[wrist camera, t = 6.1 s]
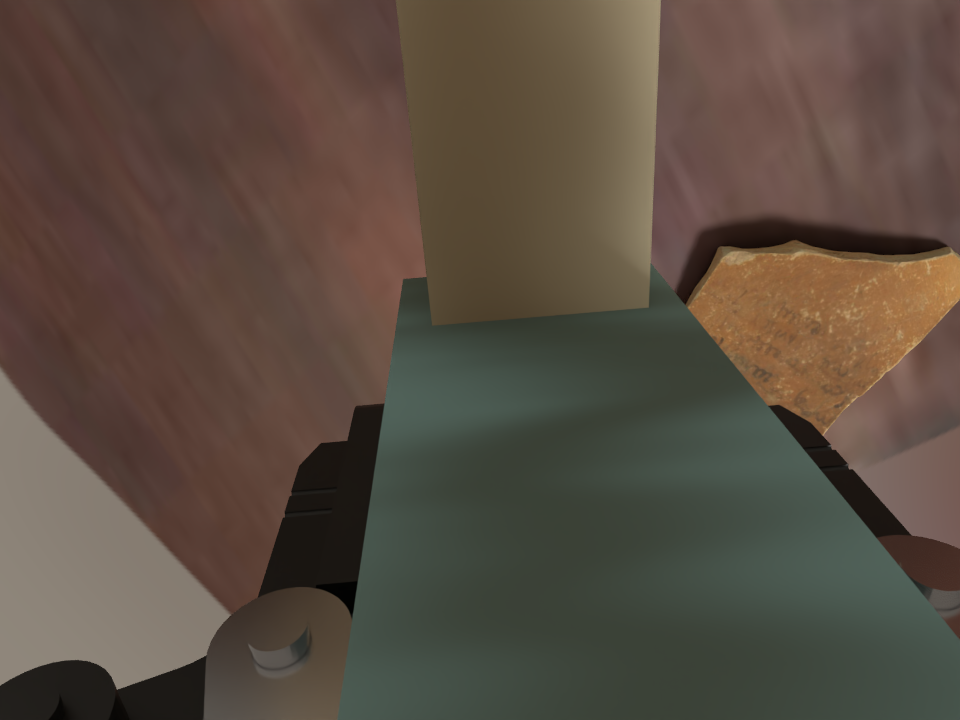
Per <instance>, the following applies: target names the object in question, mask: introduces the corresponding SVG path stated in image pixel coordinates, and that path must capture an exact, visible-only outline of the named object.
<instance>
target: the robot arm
mask: <svg viewBox="0 0 960 720" xmlns="http://www.w3.org/2000/svg"><path fill="white" fill-rule="evenodd" d="M384 405H385V404H374V405H362V406H356V407H355V410H354V414H353V418H352V423H351V427H350V432H349V436H348V441H341V442H330V443H321V444H320V445H319V446H318V447H317V448H316V449H315V450H314V451H313V452H312V453H311V454H310V455H309V456H308V457H307V458H306V459H305V460H304V462H303V463H302V464H301V465H300V466H299V469H298V472H297V475H296V478H295V481H294V484H293V488H292V491H291V492H292V496H290V497H289V500H288V503H287V507H286V510H285V518H283V519H282V522H281V526H280V529H279V532H278V535H277V538H276V541H275V545H274V548H273V551H272V554H271V557H270V560H269V564H268V567H267V570H266V573H265V576H264V579H263V583H262V586H261V589H260V592H259V595H258V598H256V599H254V600H252V601H251V602H249V603H247V604H245V605H244V606H242V607H241V608H240V609H238V610H237V611H236V612H234V613H233V614H232V615H231V616H230V617H229V618H228V619H227V620H226V621H225V622H224V623H223V624H222V626H221V627H220V628H219V629H218V631H217V632H216V634H215V635H214V637H213V639H212V641H211V643H210V646H209V649H208V652H207V655H206V656H205V657H203V658H201V659H199V660H197V661H195V662H193V663H191V664H188V665H186V666H183V667H181V668H178V669H175V670H173V671H170V672H167V673H164V674H161V675H158V676H156V677H153V678H150V679H147V680H144V681H141V682H138V683H135V684H133V685H130V686H127V687H125V688H121V689H118V690H117V689H116V687H115V684H114V682H113V680H112V677H111V676H110V675H109V673H108V672H107V671H106V670H105V669H104V668H102V667H101V666H99V665H97V664H94V663H91V662H88V661H79V660H70V661H60V662H55V663H50V664H47V665H43V666H40V667H37V668H34V669H32V670H30V671H27V672H24V673H22V674H20V675H19V676H16V677H15V678H12V679H10V680H9V681H7V682H6V683H4V684H2V685H1V686H0V720H337V718H338V711H339V704H340V698H341V691H342V684H343V678H344V671H345V664H346V658H347V651H348V644H349V638H350V631H351V624H352V618H353V611H354V604H355V598H356V591H357V584H358V578H359V571H360V564H361V558H362V551H363V544H364V538H365V531H366V524H367V518H368V511H369V505H370V498H371V491H372V485H373V478H374V471H375V465H376V458H377V451H378V445H379V438H380V431H381V425H382V418H383V411H384ZM768 407H769V408H770V409H771V410H772V411H773V413H774V414H775V415H776V416H777V418H778V419H779V420H780V421H781V422H782V424H783V425H784V426H785V427H786V428H787V430H788V431H789V432H790V433H791V435H792V436H793V437H794V438H795V439H796V441H797V442H798V443H799V444H800V446H801V447H802V448H803V449H804V450H805V452H806V453H807V454H808V455H809V457H810V458H811V459H812V460H813V461H814V463H815V464H816V465H817V466H818V467H819V469H820V470H821V471H822V472H823V474H824V475H825V476H826V477H827V478H828V480H829V481H830V482H831V483H832V485H833V486H834V487H835V488H836V489H837V491H838V492H839V493H840V494H841V495H842V497H843V498H844V499H845V500H846V502H847V503H848V504H849V505H850V506H851V508H852V509H853V510H854V511H855V513H856V514H857V515H858V516H859V517H860V519H861V520H862V521H863V522H864V524H865V525H866V526H867V527H868V528H869V530H870V531H871V532H872V533H873V534H874V536H875V537H876V538H877V539H878V541H879V542H880V543H881V544H882V545H883V547H884V548H885V549H886V550H887V552H888V553H889V554H890V555H891V556H892V558H893V559H894V560H895V561H896V562H897V564H898V565H899V566H900V567H901V569H902V570H903V571H904V572H905V573H906V575H907V576H908V577H909V578H910V580H911V581H912V582H913V583H914V584H915V586H916V587H917V588H918V589H919V591H920V592H921V593H922V594H923V595H924V597H925V598H926V599H927V600H928V601H929V603H930V604H931V605H932V606H933V608H934V609H935V610H936V611H937V612H938V614H939V615H940V616H941V617H942V619H943V620H944V621H945V622H946V623H947V625H948V626H949V627H950V628H951V629H952V631H953V632H954V633H955V634H956V636H957V637H958V638H959V639H960V549H958V548H956V547H954V546H951V545H949V544H946V543H943V542H940V541H937V540H933V539H928V538H924V537H918V536H912V535H911V534H910V533H909V532H908V531H907V530H906V529H905V528H904V526H903V525H902V524H901V523H900V522H899V521H898V520H897V519H896V518H895V516H894V515H893V514H892V513H891V512H890V511H889V510H888V508H886V506H885V505H884V504H883V503H882V502H881V501H880V500H879V498H878V497H877V496H876V495H875V494H874V493H873V492H872V490H871V489H870V488H869V487H868V486H867V485H866V484H865V483H864V482H863V480H862V479H861V478H860V477H859V476H858V475H857V474H856V473H855V471H854V470H853V469H850V470H849V468H848V464H847V462H846V461H845V460H844V459H843V458H842V457H841V456H840V455H839V453H838V452H837V451H836V450H832V449H831V444H830V443H829V442H828V441H827V440H826V439H825V438H824V437H823V435H822V434H821V433H820V432H819V431H818V430H817V429H816V428H815V427H814V425H813V424H812V423H811V422H809V421H807V420H805V419H804V418H802V417H800V416H798V415H797V414H795V413H793V412H791V411H790V410H788V409H786V408H784V407H783V406H781V405H770V406H768Z"/></svg>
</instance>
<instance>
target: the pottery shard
mask: <svg viewBox="0 0 960 720" xmlns="http://www.w3.org/2000/svg"><path fill="white" fill-rule="evenodd" d="M959 299H960V256H959V255H958V254H957V253H956V252H954V251H953V250H952V249H951V248H950V247H944V248H941V249H936V250H932V251H928V252H923V253H918V254H912V255H877V254H871V253H862V252H843V251H832V250H827V249H822V248H818V247H812V246H809V245H807V244H804V243H801V242H799V241H797V240H792V241H790V242H787V243H785V244H782V245H777V246H773V247H765V248H754V249H741V248H736V247H731V246H726V247H724V246H720V247H719V248H718V249H717V252H716V254H715V257H714V259H713V261H712V263H711V265H710V267H709V268H708V270H707V273H706V274H705V275H704V276H703V278H702V279H701V280H700V282H699V283H698V284H697V286H696V287H695V288H694V290H693V293H692V294H691V296H690V297H689V299H688V301H687V303H686V307H687V308H688V309H689V310H690V312H691V313H692V314H693V315H694V316H695V318H696V319H697V320H698V321H699V322H700V324H701V325H702V326H703V327H704V329H705V330H706V331H707V332H708V333H709V335H710V336H711V337H712V338H713V340H714V341H715V342H716V343H717V344H718V346H719V347H720V348H721V349H722V351H723V352H724V353H725V354H726V355H727V357H728V358H729V359H730V360H731V361H732V363H733V364H734V365H735V366H736V368H737V369H738V370H739V371H740V372H741V374H742V375H743V376H744V377H745V379H746V380H747V381H748V382H749V383H750V385H751V386H752V387H753V388H754V389H755V391H756V392H757V393H758V394H759V396H760V397H761V398H762V399H763V400H764V402H765V403H766V404H767V405H768V406H770V405H781V406H783V407H784V408H786V409H788V410H790V411H791V412H793V413H795V414H797V415H798V416H800V417H802V418H804V419H805V420H807V421H809V422H811V423H812V424H813V425H814V427H815V428H816V429H817V430H818V431H819V432H820V433H821V434H822V435H824V433H825V432H826V431H827V430H828V428H829V427H830V426H831V424H832V423H833V422H834V421H835V420H836V419H837V417H838V416H839V415H840V414H841V413H842V411H843V410H844V409H845V408H847V407H848V406H849V405H850V404H851V403H852V402H853V401H854V400H855V399H856V398H857V397H860V396H862V395H863V394H864V393H865V392H866V391H867V390H869V389H870V388H871V386H873V385H874V384H875V383H876V381H878V380H879V379H881V378H882V376H883V375H884V374H885V372H887V371H889V370H890V369H892V368H893V367H894V366H895V365H896V364H898V362H899V361H900V360H901V359H902V358H903V357H904V356H905V355H906V354H907V353H908V352H909V351H910V350H912V349H913V348H914V347H915V346H916V345H917V344H919V343H920V342H921V341H922V339H923V338H924V337H925V336H926V335H927V334H928V333H929V332H930V331H931V330H932V328H933V327H934V326H935V325H936V324H937V323H938V322H939V321H940V320H941V319H942V318H943V317H944V316H945V315H946V314H947V313H948V311H949V310H950V309H951V308H952V307H953V306H954V305H955V304H956V303H957V302H958V301H959Z"/></svg>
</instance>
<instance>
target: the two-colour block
mask: <svg viewBox="0 0 960 720" xmlns="http://www.w3.org/2000/svg"><path fill="white" fill-rule="evenodd" d="M396 4H397V13H398V22H399V31H400V40H401V49H402V58H403V67H404V76H405V85H406V94H407V103H408V112H409V122H410V131H411V140H412V149H413V158H414V167H415V176H416V185H417V194H418V203H419V212H420V221H421V230H422V239H423V248H424V257H425V266H426V275H427V277H423V278H411V279H403V285H402V291H401V298H400V305H399V311H398V318H397V325H396V331H395V338H394V345H393V351H392V358H391V365H390V371H389V378H388V385H387V391H386V398H385V405H384V411H383V418H382V425H381V431H380V438H379V445H378V451H377V458H376V465H375V471H374V478H373V485H372V491H371V498H370V505H369V511H368V518H367V524H366V531H365V538H364V544H363V551H362V558H361V564H360V571H359V578H358V584H357V591H356V598H355V604H354V611H353V618H352V624H351V631H350V638H349V644H348V651H347V658H346V664H345V671H344V678H343V684H342V691H341V698H340V704H339V711H338V718H337V720H960V639H959V638H958V637H957V636H956V634H955V633H954V632H953V631H952V629H951V628H950V627H949V626H948V625H947V623H946V622H945V621H944V620H943V619H942V617H941V616H940V615H939V614H938V612H937V611H936V610H935V609H934V608H933V606H932V605H931V604H930V603H929V601H928V600H927V599H926V598H925V597H924V595H923V594H922V593H921V592H920V591H919V589H918V588H917V587H916V586H915V584H914V583H913V582H912V581H911V580H910V578H909V577H908V576H907V575H906V573H905V572H904V571H903V570H902V569H901V567H900V566H899V565H898V564H897V562H896V561H895V560H894V559H893V558H892V556H891V555H890V554H889V553H888V552H887V550H886V549H885V548H884V547H883V545H882V544H881V543H880V542H879V541H878V539H877V538H876V537H875V536H874V534H873V533H872V532H871V531H870V530H869V528H868V527H867V526H866V525H865V524H864V522H863V521H862V520H861V519H860V517H859V516H858V515H857V514H856V513H855V511H854V510H853V509H852V508H851V506H850V505H849V504H848V503H847V502H846V500H845V499H844V498H843V497H842V495H841V494H840V493H839V492H838V491H837V489H836V488H835V487H834V486H833V485H832V483H831V482H830V481H829V480H828V478H827V477H826V476H825V475H824V474H823V472H822V471H821V470H820V469H819V467H818V466H817V465H816V464H815V463H814V461H813V460H812V459H811V458H810V457H809V455H808V454H807V453H806V452H805V450H804V449H803V448H802V447H801V446H800V444H799V443H798V442H797V441H796V439H795V438H794V437H793V436H792V435H791V433H790V432H789V431H788V430H787V428H786V427H785V426H784V425H783V424H782V422H781V421H780V420H779V419H778V418H777V416H776V415H775V414H774V413H773V411H772V410H771V409H770V408H769V407H768V405H767V404H766V403H765V402H764V400H763V399H762V398H761V397H760V396H759V394H758V393H757V392H756V391H755V389H754V388H753V387H752V386H751V385H750V383H749V382H748V381H747V380H746V379H745V377H744V376H743V375H742V374H741V372H740V371H739V370H738V369H737V368H736V366H735V365H734V364H733V363H732V361H731V360H730V359H729V358H728V357H727V355H726V354H725V353H724V352H723V351H722V349H721V348H720V347H719V346H718V344H717V343H716V342H715V341H714V340H713V338H712V337H711V336H710V335H709V333H708V332H707V331H706V330H705V329H704V327H703V326H702V325H701V324H700V322H699V321H698V320H697V319H696V318H695V316H694V315H693V314H692V313H691V312H690V310H689V309H688V308H687V307H686V305H685V304H684V303H683V302H682V301H681V299H680V298H679V297H678V296H677V294H676V293H675V292H674V291H673V290H672V288H671V287H670V286H669V285H668V284H667V282H666V281H665V280H664V279H663V277H662V276H661V275H660V274H659V273H658V271H657V270H656V269H655V268H654V266H653V265H652V264H651V238H652V212H653V187H654V161H655V136H656V110H657V84H658V59H659V33H660V7H661V0H396Z"/></svg>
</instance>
